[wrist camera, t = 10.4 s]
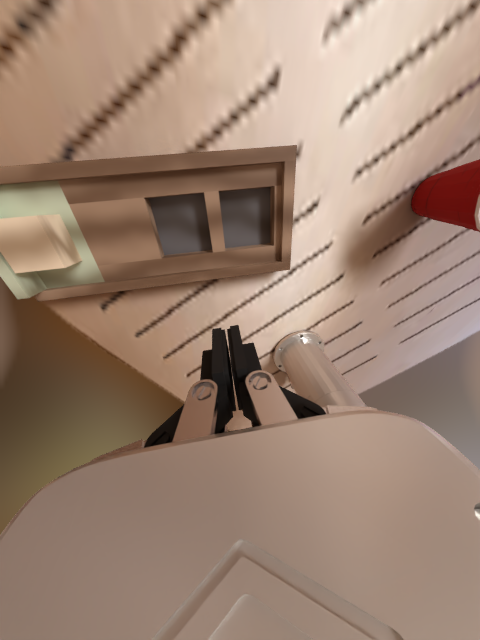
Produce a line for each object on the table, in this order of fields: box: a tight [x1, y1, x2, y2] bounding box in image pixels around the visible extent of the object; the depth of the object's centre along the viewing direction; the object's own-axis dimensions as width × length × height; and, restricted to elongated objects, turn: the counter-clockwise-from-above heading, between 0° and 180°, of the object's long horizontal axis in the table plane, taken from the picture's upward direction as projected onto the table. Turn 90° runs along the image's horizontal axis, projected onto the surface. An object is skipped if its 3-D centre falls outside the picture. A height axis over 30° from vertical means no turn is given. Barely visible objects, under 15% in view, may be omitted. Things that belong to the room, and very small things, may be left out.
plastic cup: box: [411, 159, 480, 232], centre depth 28 cm, size 11×11×12 cm
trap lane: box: [0, 145, 297, 301], centre depth 27 cm, size 16×40×6 cm, turn 95°
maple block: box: [0, 214, 82, 273], centre depth 25 cm, size 6×6×4 cm
